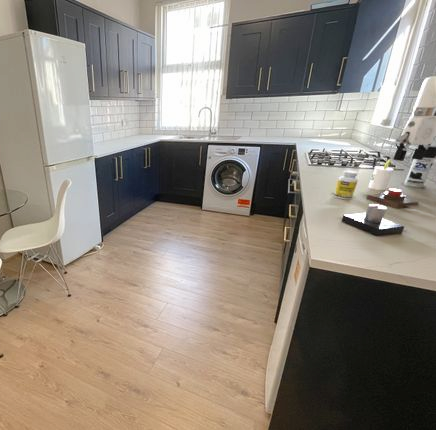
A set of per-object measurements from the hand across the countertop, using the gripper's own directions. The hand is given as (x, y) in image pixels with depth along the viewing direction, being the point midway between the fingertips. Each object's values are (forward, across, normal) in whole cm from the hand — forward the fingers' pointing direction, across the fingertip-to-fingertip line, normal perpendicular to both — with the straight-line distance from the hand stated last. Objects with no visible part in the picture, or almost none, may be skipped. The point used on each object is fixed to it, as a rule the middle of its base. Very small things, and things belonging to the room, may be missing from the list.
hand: (407, 159), depth 110 cm
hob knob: (+16, -33, -18) cm, 41 cm away
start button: (+15, 0, 0) cm, 15 cm away
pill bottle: (+18, -13, +10) cm, 25 cm away
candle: (+18, +13, +16) cm, 28 cm away
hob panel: (+18, -33, -18) cm, 42 cm away
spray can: (+18, +35, +16) cm, 43 cm away
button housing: (+18, 0, 0) cm, 18 cm away
